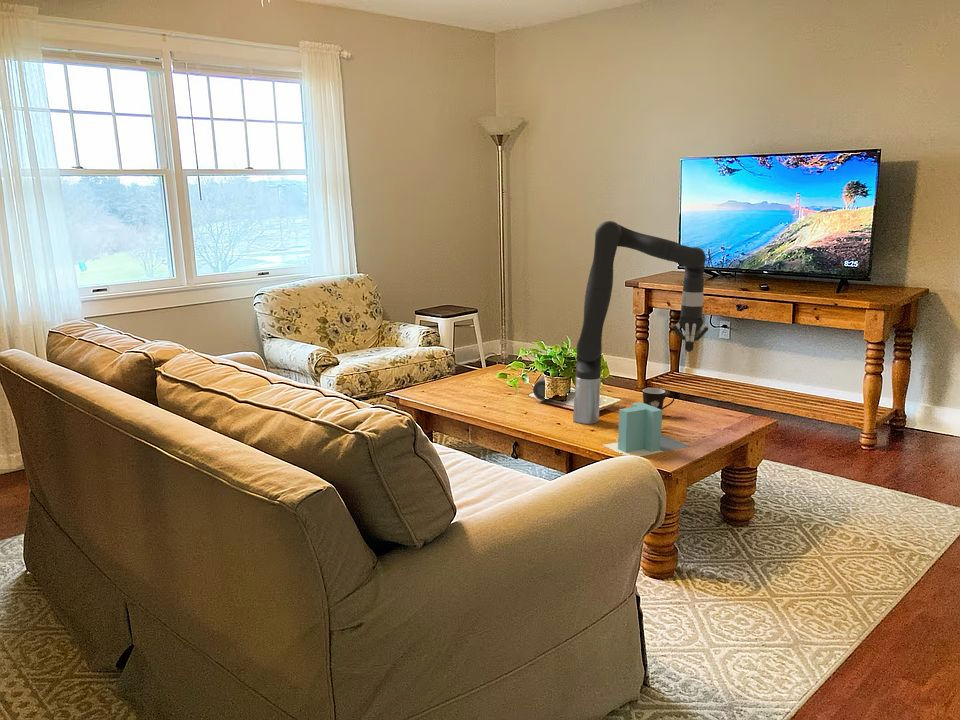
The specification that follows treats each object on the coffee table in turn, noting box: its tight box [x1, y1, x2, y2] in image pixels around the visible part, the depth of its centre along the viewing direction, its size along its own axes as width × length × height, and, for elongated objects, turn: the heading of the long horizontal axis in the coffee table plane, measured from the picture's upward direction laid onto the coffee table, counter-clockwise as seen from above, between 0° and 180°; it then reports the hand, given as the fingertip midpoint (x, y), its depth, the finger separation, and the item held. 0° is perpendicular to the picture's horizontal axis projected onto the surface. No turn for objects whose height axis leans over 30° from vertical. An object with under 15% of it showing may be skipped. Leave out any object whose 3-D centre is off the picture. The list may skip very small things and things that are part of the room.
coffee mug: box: [642, 387, 675, 411], centre depth 305 cm, size 12×9×10 cm
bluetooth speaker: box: [532, 376, 546, 401], centre depth 332 cm, size 23×9×10 cm, turn 157°
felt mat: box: [602, 433, 691, 457], centre depth 270 cm, size 26×15×1 cm, turn 118°
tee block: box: [617, 401, 663, 453], centre depth 265 cm, size 12×11×14 cm
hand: (689, 351), depth 285 cm, fingers closed
